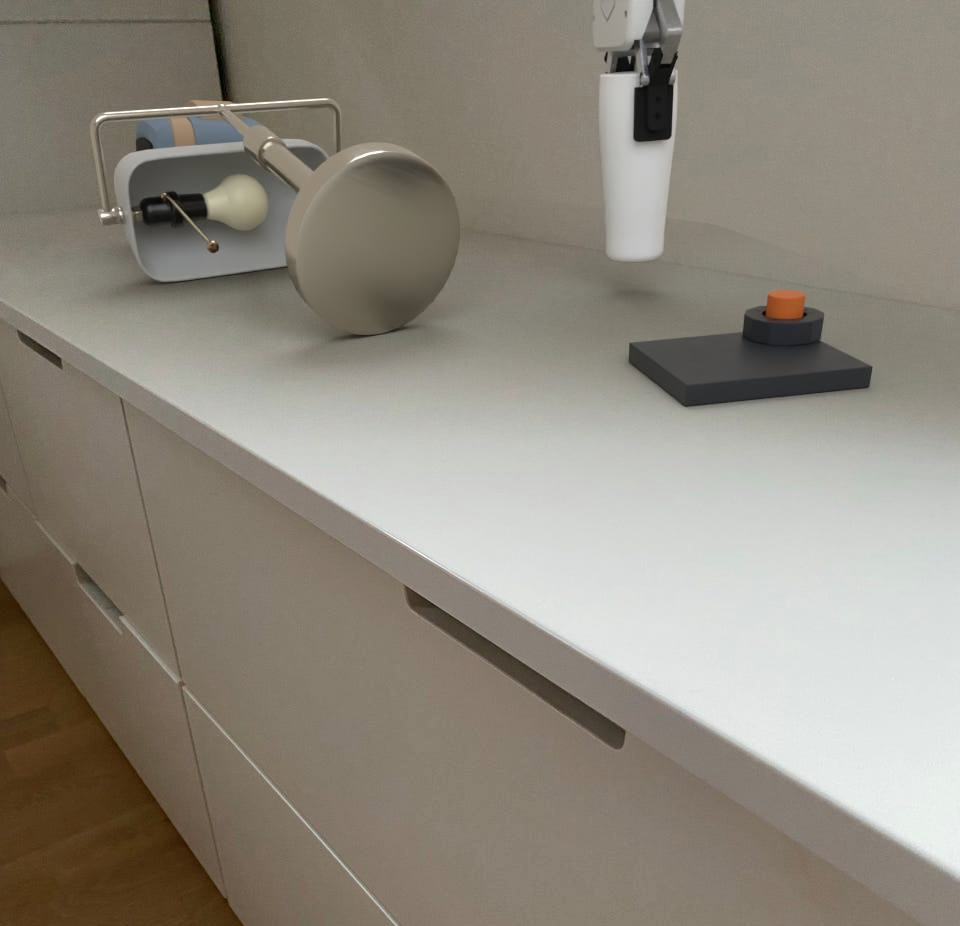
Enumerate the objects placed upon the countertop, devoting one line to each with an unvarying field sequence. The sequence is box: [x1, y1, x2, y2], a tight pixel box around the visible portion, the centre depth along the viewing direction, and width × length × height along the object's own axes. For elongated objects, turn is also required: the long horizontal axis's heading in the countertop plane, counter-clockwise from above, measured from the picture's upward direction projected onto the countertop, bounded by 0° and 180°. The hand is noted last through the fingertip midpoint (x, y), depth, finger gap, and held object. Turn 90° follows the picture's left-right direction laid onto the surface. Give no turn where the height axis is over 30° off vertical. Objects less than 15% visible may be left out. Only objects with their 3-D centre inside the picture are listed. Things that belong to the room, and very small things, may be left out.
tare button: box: [766, 289, 807, 319], centre depth 71 cm, size 3×3×2 cm
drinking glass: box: [597, 68, 679, 264], centre depth 87 cm, size 7×7×15 cm
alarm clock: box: [135, 99, 265, 152], centre depth 121 cm, size 16×16×16 cm
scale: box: [628, 305, 874, 407], centre depth 68 cm, size 14×12×3 cm
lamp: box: [89, 97, 461, 336], centre depth 92 cm, size 27×23×40 cm
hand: (637, 135), depth 86 cm, fingers closed on drinking glass, 6 cm apart
